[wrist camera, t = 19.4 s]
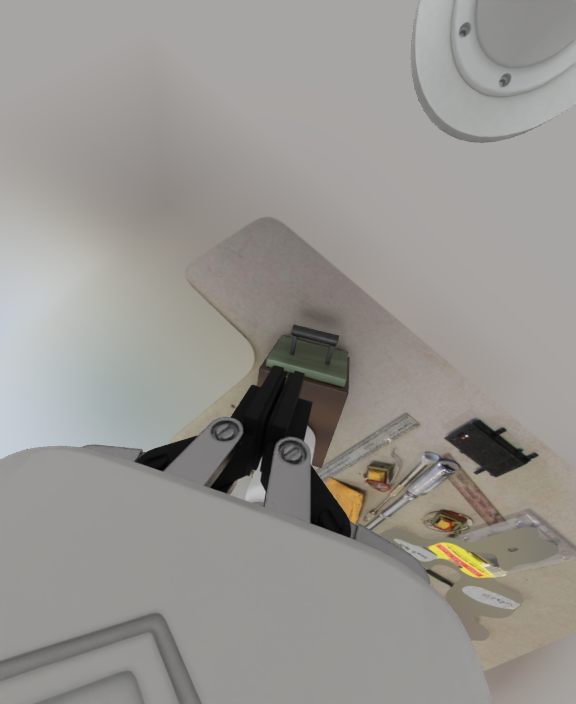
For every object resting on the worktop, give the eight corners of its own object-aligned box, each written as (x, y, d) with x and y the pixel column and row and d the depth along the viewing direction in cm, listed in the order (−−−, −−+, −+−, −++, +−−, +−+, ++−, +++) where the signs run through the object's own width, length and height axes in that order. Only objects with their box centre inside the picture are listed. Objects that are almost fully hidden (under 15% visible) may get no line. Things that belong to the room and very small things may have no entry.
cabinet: (278, 338, 40) (259, 368, 32) (349, 357, 38) (348, 393, 30) (267, 406, 47) (249, 445, 39) (327, 424, 46) (321, 468, 37)
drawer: (286, 310, 36) (271, 329, 30) (355, 326, 35) (356, 350, 28) (270, 401, 45) (256, 432, 38) (326, 417, 44) (321, 452, 37)
